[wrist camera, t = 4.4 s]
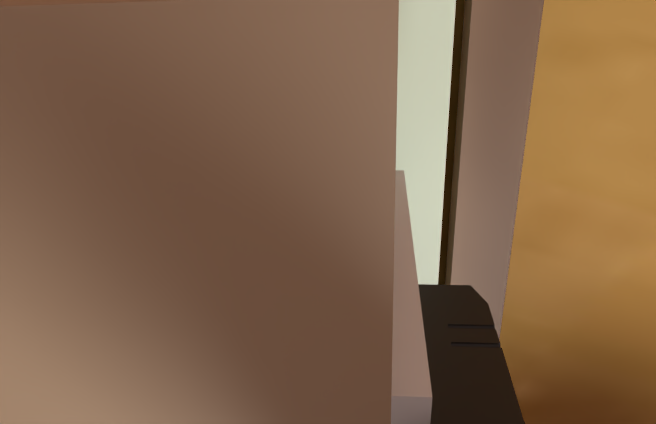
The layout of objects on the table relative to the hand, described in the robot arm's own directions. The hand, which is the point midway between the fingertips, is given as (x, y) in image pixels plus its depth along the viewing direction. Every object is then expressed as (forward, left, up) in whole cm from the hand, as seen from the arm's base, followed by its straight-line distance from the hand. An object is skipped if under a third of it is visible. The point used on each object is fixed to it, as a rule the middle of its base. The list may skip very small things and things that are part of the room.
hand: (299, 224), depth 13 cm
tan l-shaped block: (0, -3, -3) cm, 4 cm away
